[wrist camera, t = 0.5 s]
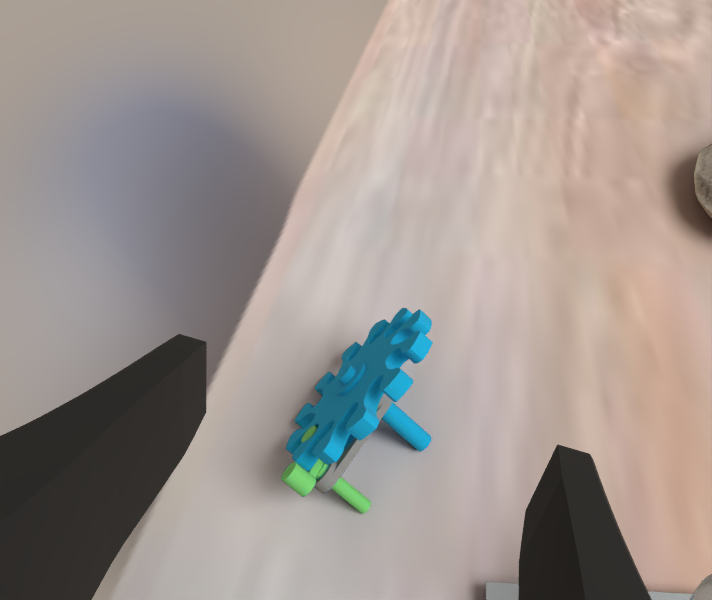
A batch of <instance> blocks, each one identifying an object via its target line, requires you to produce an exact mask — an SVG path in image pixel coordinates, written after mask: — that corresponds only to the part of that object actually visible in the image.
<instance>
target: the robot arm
mask: <svg viewBox="0 0 712 600" xmlns="http://www.w3.org/2000/svg"><path fill="white" fill-rule="evenodd" d="M205 413H206V342H205V341H201V340H197V339H194V338H191V337H187V336H184V335H181V334H179V335H177V336H175V337H173V338H172V339H170V340H168V341H167V342H165V343H164V344H162V345H160V346H159V347H157V348H156V349H154V350H153V351H151V352H150V353H148V354H146V355H145V356H143V357H142V358H140V359H139V360H137V361H135V362H134V363H132V364H131V365H129V366H128V367H126V368H124V369H123V370H121V371H120V372H118V373H117V374H115V375H113V376H111V377H110V378H108V379H106V380H105V381H103V382H101V383H100V384H98V385H97V386H95V387H93V388H92V389H90V390H88V391H87V392H85V393H83V394H81V395H80V396H78V397H76V398H74V399H72V400H71V401H69V402H67V403H65V404H63V405H61V406H60V407H58V408H56V409H54V410H52V411H50V412H49V413H47V414H45V415H43V416H41V417H39V418H37V419H35V420H33V421H31V422H29V423H27V424H25V425H23V426H21V427H19V428H17V429H15V430H12V431H10V432H8V433H6V434H4V435H1V436H0V600H91V599H92V598H93V596H94V594H95V592H96V590H97V589H98V587H99V585H100V583H101V581H102V579H103V578H104V576H105V574H106V572H107V570H108V569H109V567H110V565H111V563H112V562H113V560H114V558H115V557H116V555H117V553H118V552H119V550H120V549H121V547H122V546H123V544H124V543H125V541H126V540H127V538H128V537H129V535H130V534H131V532H132V531H133V529H134V528H135V527H136V525H137V524H138V522H139V521H140V519H141V518H142V516H143V515H144V513H145V512H146V511H147V509H148V508H149V506H150V505H151V503H152V502H153V500H154V499H155V497H156V496H157V494H158V493H159V492H160V490H161V489H162V487H163V486H164V484H165V483H166V481H167V480H168V478H169V477H170V475H171V474H172V472H173V471H174V469H175V468H176V466H177V465H178V464H179V462H180V460H181V459H182V457H183V456H184V454H185V453H186V451H187V449H188V447H189V445H190V443H191V441H192V439H193V437H194V436H195V434H196V432H197V430H198V428H199V426H200V423H201V421H202V419H203V417H204V415H205ZM519 600H652V599H651V597H650V595H649V593H648V591H647V589H646V587H645V585H644V583H643V581H642V579H641V576H640V574H639V572H638V570H637V568H636V566H635V563H634V561H633V559H632V557H631V554H630V552H629V550H628V548H627V545H626V543H625V541H624V539H623V536H622V534H621V532H620V529H619V527H618V524H617V522H616V519H615V517H614V514H613V512H612V509H611V507H610V504H609V502H608V499H607V497H606V494H605V491H604V489H603V486H602V483H601V480H600V478H599V475H598V472H597V469H596V466H595V463H594V461H593V459H592V457H591V455H590V454H588V453H585V452H581V451H578V450H574V449H571V448H568V447H564V446H561V445H557V447H556V449H555V451H554V453H553V455H552V457H551V459H550V461H549V463H548V465H547V467H546V469H545V471H544V474H543V476H542V478H541V480H540V482H539V484H538V486H537V488H536V490H535V492H534V494H533V496H532V498H531V501H530V503H529V505H528V507H527V509H526V512H525V520H524V527H523V534H522V542H521V550H520V558H519Z"/></svg>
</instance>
